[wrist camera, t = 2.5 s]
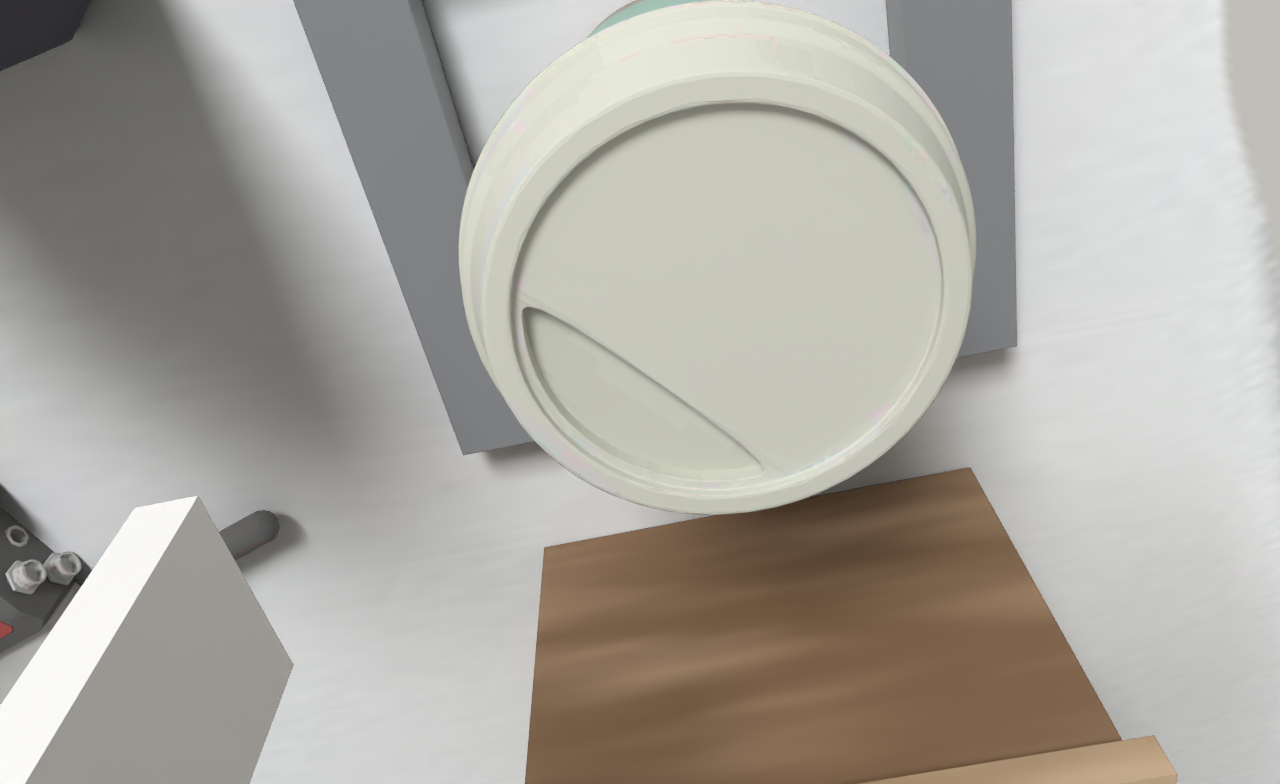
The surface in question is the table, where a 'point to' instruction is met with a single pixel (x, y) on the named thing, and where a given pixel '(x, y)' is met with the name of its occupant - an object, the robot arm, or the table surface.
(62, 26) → the calculator
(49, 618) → the walkie-talkie
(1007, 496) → the table surface
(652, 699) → the riser
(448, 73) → the table surface
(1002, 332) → the socket
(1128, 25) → the table surface
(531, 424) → the coffee cup
